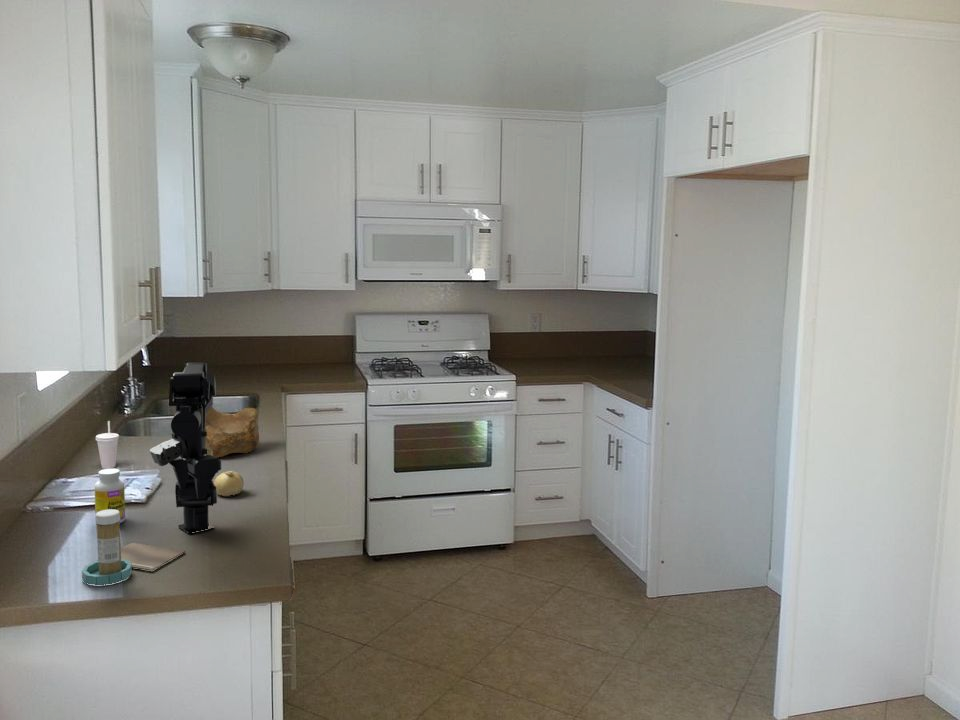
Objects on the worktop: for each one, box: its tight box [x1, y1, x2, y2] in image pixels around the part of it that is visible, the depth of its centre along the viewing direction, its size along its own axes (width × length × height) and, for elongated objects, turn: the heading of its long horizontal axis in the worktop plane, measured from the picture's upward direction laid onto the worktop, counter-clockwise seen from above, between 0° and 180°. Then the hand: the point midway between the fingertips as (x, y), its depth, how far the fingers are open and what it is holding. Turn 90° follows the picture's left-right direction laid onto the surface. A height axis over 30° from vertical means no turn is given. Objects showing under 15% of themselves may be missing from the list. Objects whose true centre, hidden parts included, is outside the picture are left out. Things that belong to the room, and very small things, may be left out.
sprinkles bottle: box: [94, 509, 122, 575], centre depth 168 cm, size 5×5×13 cm
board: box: [96, 542, 186, 570], centre depth 179 cm, size 11×14×1 cm
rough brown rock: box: [205, 406, 260, 459], centre depth 261 cm, size 23×17×15 cm
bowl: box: [81, 559, 133, 585], centre depth 169 cm, size 9×9×2 cm
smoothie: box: [95, 420, 120, 470], centre depth 244 cm, size 6×6×14 cm
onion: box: [213, 470, 245, 497], centre depth 223 cm, size 8×8×7 cm
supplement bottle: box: [94, 468, 126, 525], centre depth 199 cm, size 7×7×13 cm
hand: (191, 494), depth 186 cm, fingers open, 9 cm apart
